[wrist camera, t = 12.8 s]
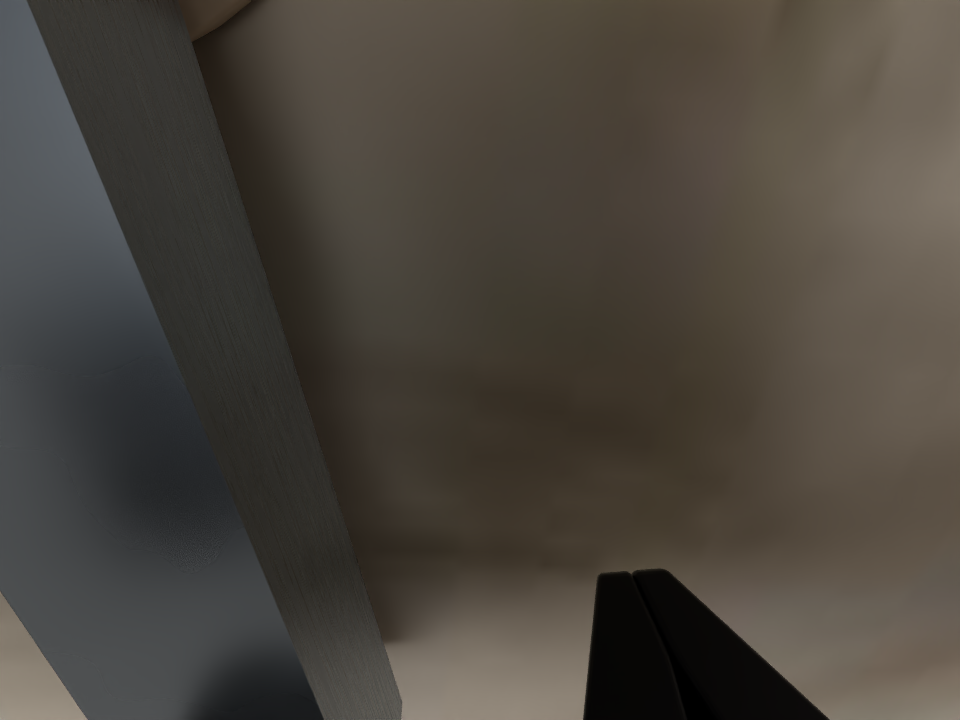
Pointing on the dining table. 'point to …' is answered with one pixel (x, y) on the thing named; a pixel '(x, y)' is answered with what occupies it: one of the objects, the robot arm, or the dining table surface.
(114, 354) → the lever
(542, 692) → the dining table surface
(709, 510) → the dining table surface
